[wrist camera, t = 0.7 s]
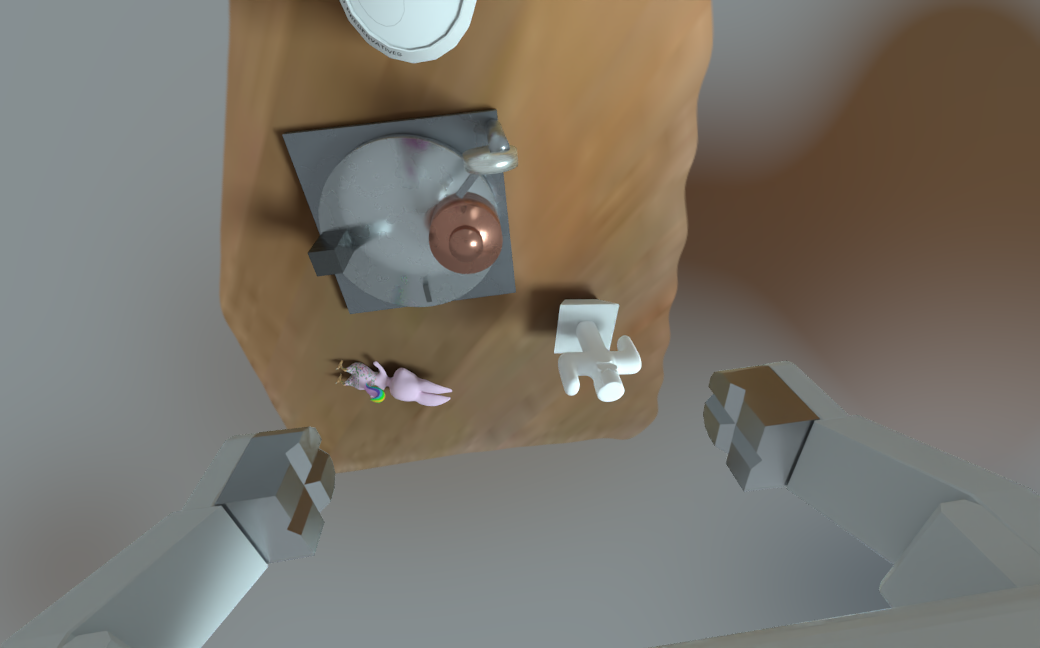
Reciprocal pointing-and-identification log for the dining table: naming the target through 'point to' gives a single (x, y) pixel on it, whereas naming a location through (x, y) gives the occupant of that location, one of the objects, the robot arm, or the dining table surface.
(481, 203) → the cover
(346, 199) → the turntable
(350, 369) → the rabbit figure
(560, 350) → the figurine
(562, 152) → the dining table surface
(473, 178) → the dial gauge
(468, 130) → the plinth
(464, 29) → the supplement can
